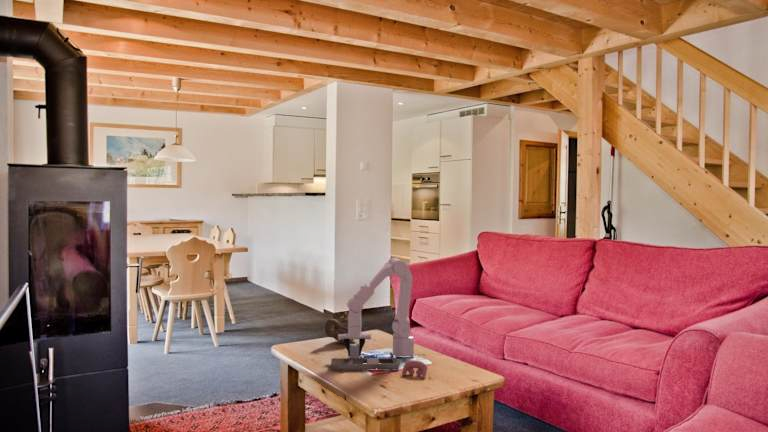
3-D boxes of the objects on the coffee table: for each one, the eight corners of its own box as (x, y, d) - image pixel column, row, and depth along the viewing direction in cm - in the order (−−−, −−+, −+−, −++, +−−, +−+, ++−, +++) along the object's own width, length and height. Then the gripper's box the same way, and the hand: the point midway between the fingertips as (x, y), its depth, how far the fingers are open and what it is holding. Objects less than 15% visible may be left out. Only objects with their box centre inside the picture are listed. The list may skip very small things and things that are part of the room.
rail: (396, 363, 240) (396, 357, 239) (398, 370, 232) (398, 364, 232) (331, 364, 237) (331, 358, 237) (331, 370, 229) (331, 364, 229)
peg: (358, 357, 247) (358, 343, 247) (359, 360, 243) (359, 346, 243) (349, 357, 247) (349, 343, 246) (349, 360, 243) (350, 346, 242)
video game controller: (426, 380, 225) (429, 362, 227) (424, 378, 221) (426, 360, 223) (403, 377, 228) (405, 359, 231) (400, 375, 224) (403, 357, 227)
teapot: (354, 336, 280) (355, 307, 279) (369, 341, 271) (369, 311, 270) (319, 343, 266) (319, 312, 265) (332, 349, 257) (333, 317, 256)
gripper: (370, 322, 249) (370, 352, 250) (338, 322, 247) (337, 352, 248) (371, 326, 242) (371, 357, 243) (338, 326, 240) (337, 357, 241)
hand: (354, 355), depth 245 cm, fingers closed on peg, 4 cm apart
